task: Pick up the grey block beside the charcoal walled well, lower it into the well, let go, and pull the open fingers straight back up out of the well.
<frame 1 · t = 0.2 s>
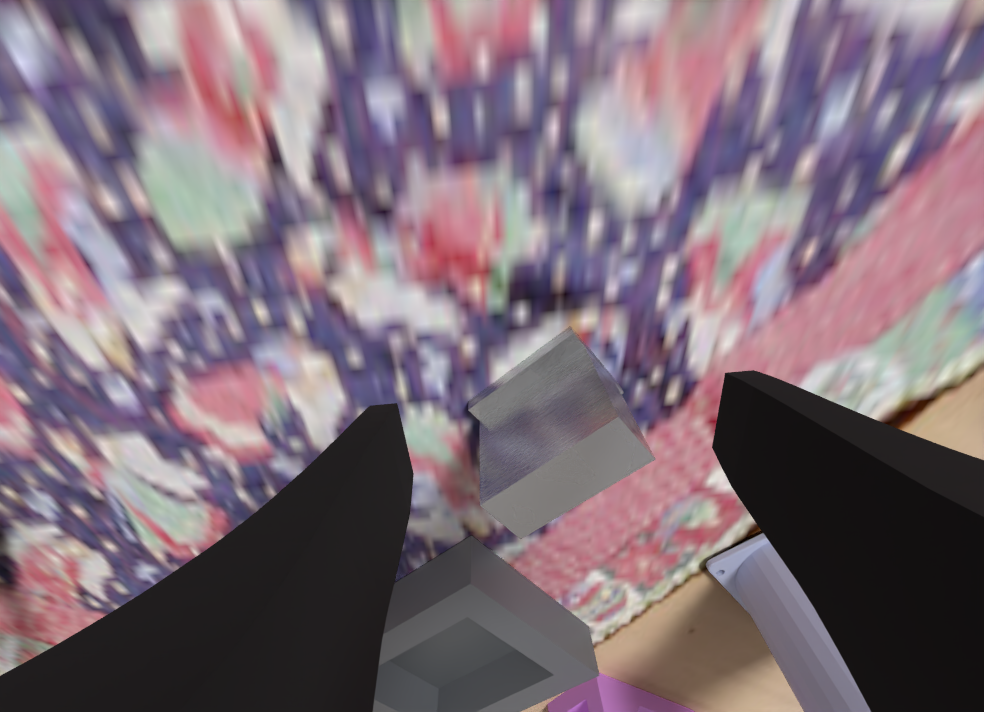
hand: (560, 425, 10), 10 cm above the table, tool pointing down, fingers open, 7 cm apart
grey block: (543, 392, 21), on the table
well: (452, 629, 29), on the table
bracket: (630, 705, 36), on the table
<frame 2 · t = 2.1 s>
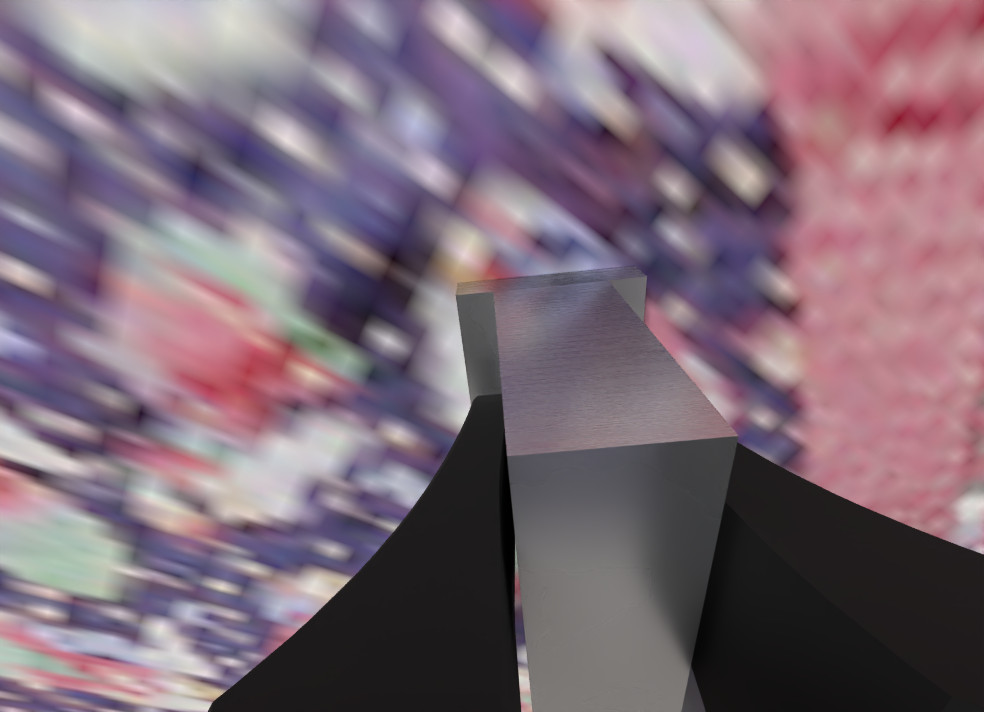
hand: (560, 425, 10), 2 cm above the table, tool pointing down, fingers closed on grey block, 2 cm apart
grey block: (550, 387, 11), on the table, touching gripper
well: (824, 687, 18), on the table
when the fingers open (4 cm above the table, at t = 6.4 s): grey block stays where it is, resting on well.
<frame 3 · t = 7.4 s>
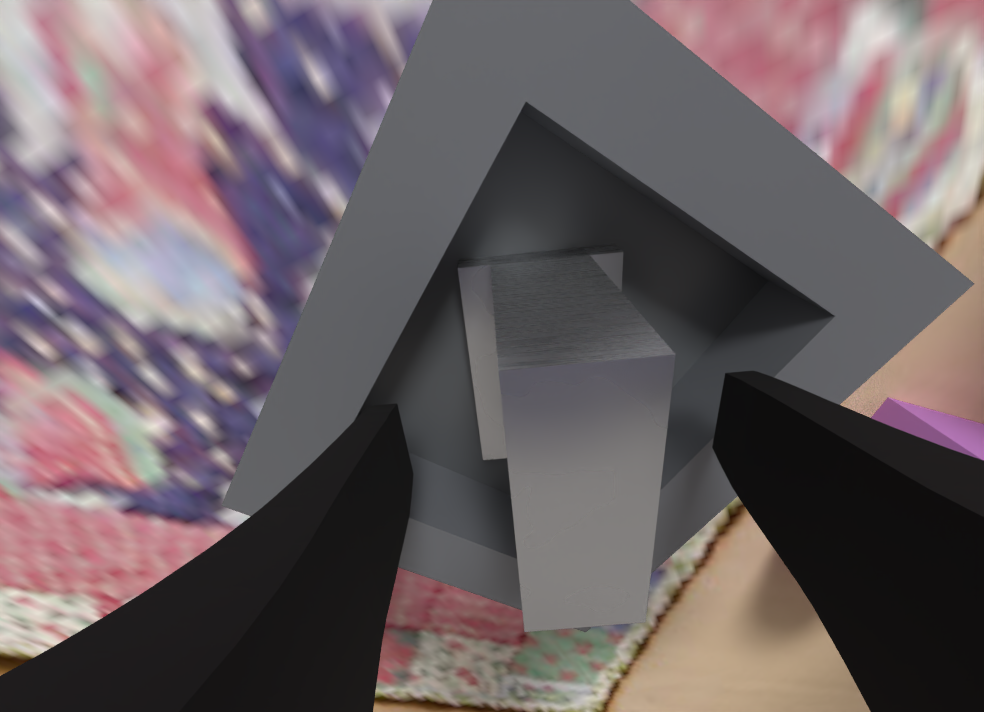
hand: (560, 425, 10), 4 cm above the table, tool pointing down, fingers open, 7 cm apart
grey block: (541, 355, 13), resting on well
well: (539, 350, 13), on the table
bracket: (970, 490, 17), on the table
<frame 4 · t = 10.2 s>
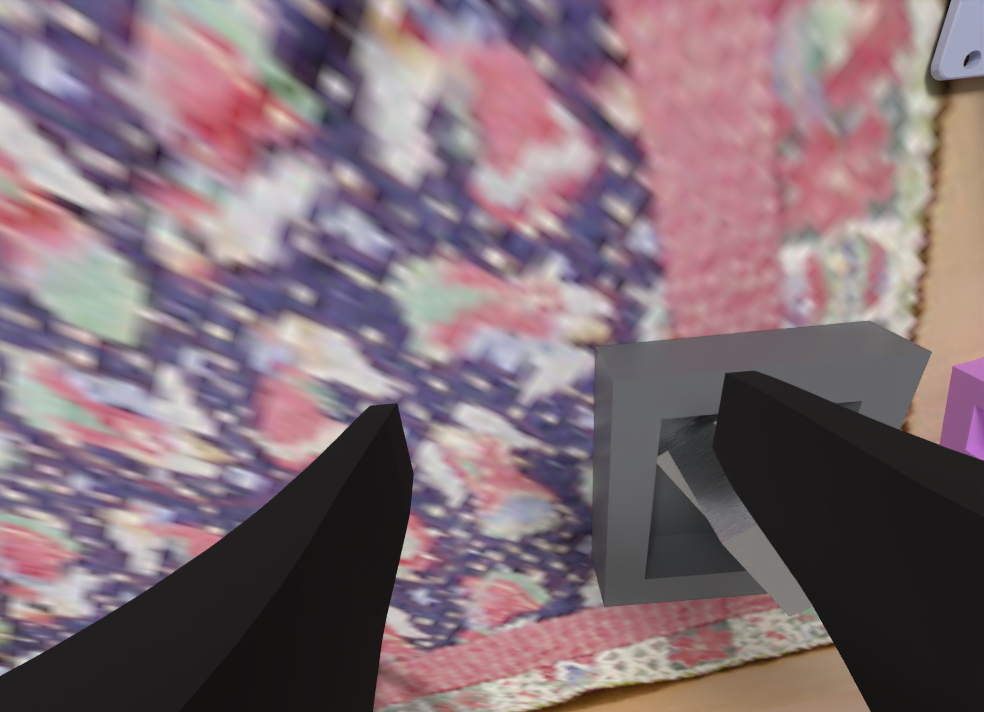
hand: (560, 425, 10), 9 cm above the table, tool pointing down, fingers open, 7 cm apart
grey block: (713, 462, 22), resting on well
well: (709, 456, 23), on the table
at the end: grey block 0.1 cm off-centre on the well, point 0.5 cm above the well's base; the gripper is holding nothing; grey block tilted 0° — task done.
